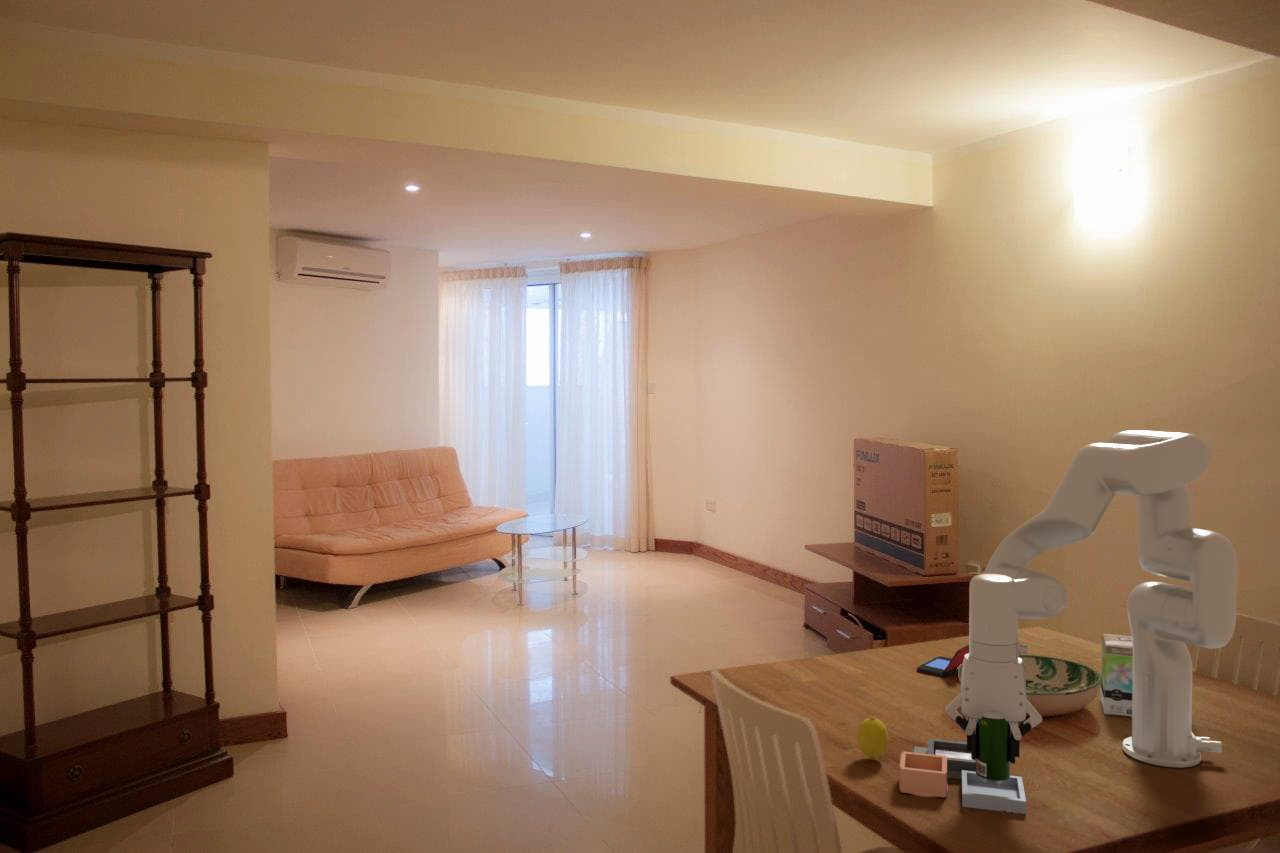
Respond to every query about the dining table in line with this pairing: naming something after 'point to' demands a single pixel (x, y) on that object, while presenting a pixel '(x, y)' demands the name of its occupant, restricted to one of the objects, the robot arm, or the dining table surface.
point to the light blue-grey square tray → (993, 794)
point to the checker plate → (953, 753)
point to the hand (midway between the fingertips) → (992, 757)
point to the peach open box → (923, 774)
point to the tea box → (1116, 674)
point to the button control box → (953, 764)
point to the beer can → (993, 748)
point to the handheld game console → (944, 664)
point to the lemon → (872, 737)
